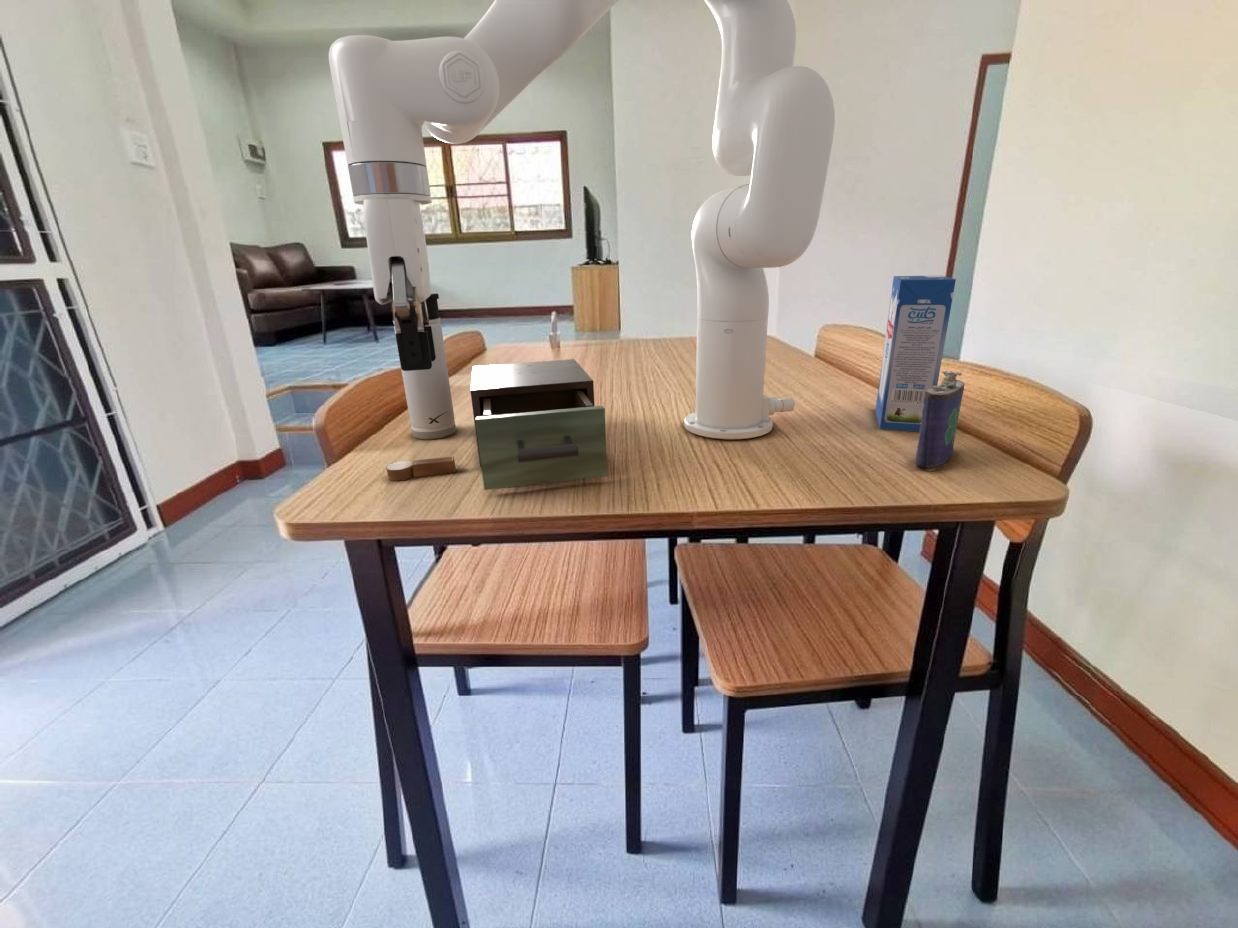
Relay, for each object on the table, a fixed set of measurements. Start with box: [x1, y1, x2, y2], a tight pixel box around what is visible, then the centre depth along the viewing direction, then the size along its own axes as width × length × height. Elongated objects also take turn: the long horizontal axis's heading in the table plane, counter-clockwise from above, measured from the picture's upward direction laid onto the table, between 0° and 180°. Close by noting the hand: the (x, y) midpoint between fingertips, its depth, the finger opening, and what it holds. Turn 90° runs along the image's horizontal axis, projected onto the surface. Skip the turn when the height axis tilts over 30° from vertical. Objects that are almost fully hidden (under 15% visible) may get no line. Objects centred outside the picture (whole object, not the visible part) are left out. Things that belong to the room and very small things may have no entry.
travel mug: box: [389, 292, 457, 440], centre depth 80 cm, size 6×7×20 cm
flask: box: [913, 370, 965, 472], centre depth 65 cm, size 9×3×11 cm, turn 138°
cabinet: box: [469, 358, 596, 468], centre depth 76 cm, size 16×15×10 cm
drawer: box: [475, 389, 608, 491], centre depth 65 cm, size 20×14×8 cm
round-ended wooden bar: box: [385, 456, 456, 482], centre depth 68 cm, size 8×3×2 cm, turn 103°
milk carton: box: [875, 274, 957, 432], centre depth 79 cm, size 10×6×20 cm, turn 160°
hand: (419, 363), depth 64 cm, fingers open, 4 cm apart
